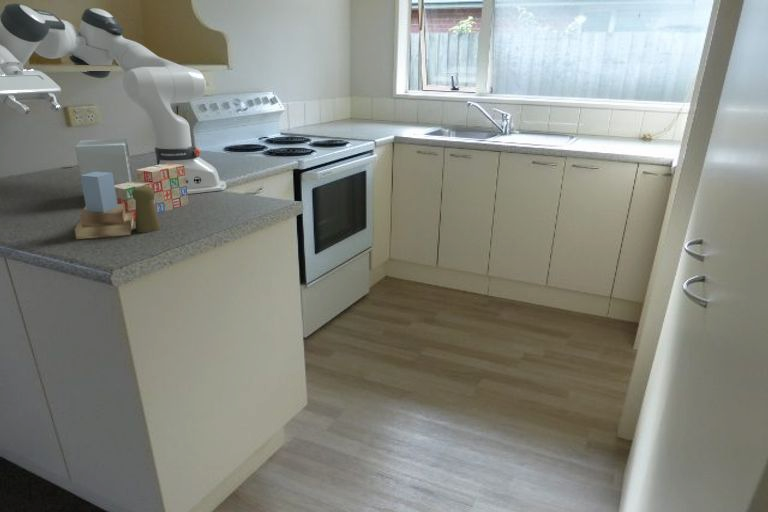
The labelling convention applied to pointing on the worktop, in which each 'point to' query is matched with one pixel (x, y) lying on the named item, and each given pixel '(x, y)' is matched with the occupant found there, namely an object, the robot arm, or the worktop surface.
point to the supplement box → (105, 158)
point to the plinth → (105, 229)
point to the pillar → (99, 191)
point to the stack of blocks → (156, 188)
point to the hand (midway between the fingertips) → (42, 111)
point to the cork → (145, 210)
